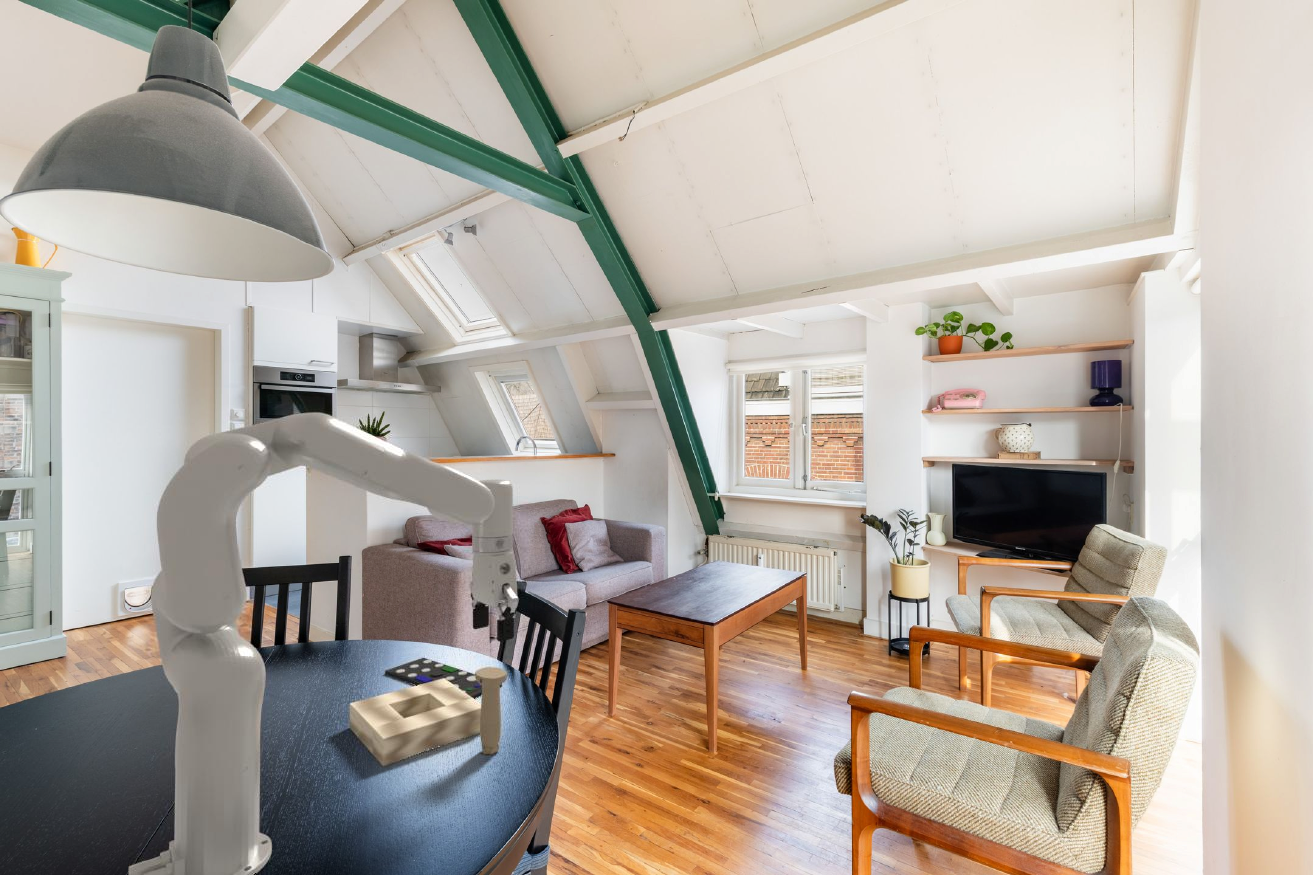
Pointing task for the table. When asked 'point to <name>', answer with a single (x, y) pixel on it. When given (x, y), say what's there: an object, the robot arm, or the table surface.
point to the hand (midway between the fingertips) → (492, 633)
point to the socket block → (414, 720)
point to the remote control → (436, 675)
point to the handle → (490, 707)
